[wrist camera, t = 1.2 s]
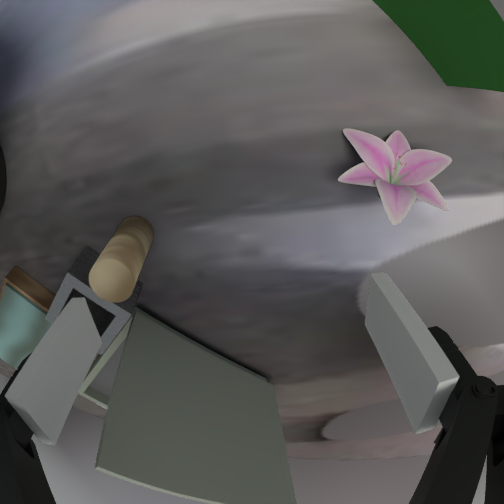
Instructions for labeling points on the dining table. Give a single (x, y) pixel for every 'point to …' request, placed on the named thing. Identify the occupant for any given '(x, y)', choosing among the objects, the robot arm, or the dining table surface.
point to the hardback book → (456, 38)
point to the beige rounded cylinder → (122, 260)
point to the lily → (396, 172)
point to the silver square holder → (103, 320)
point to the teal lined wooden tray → (22, 316)
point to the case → (187, 419)
